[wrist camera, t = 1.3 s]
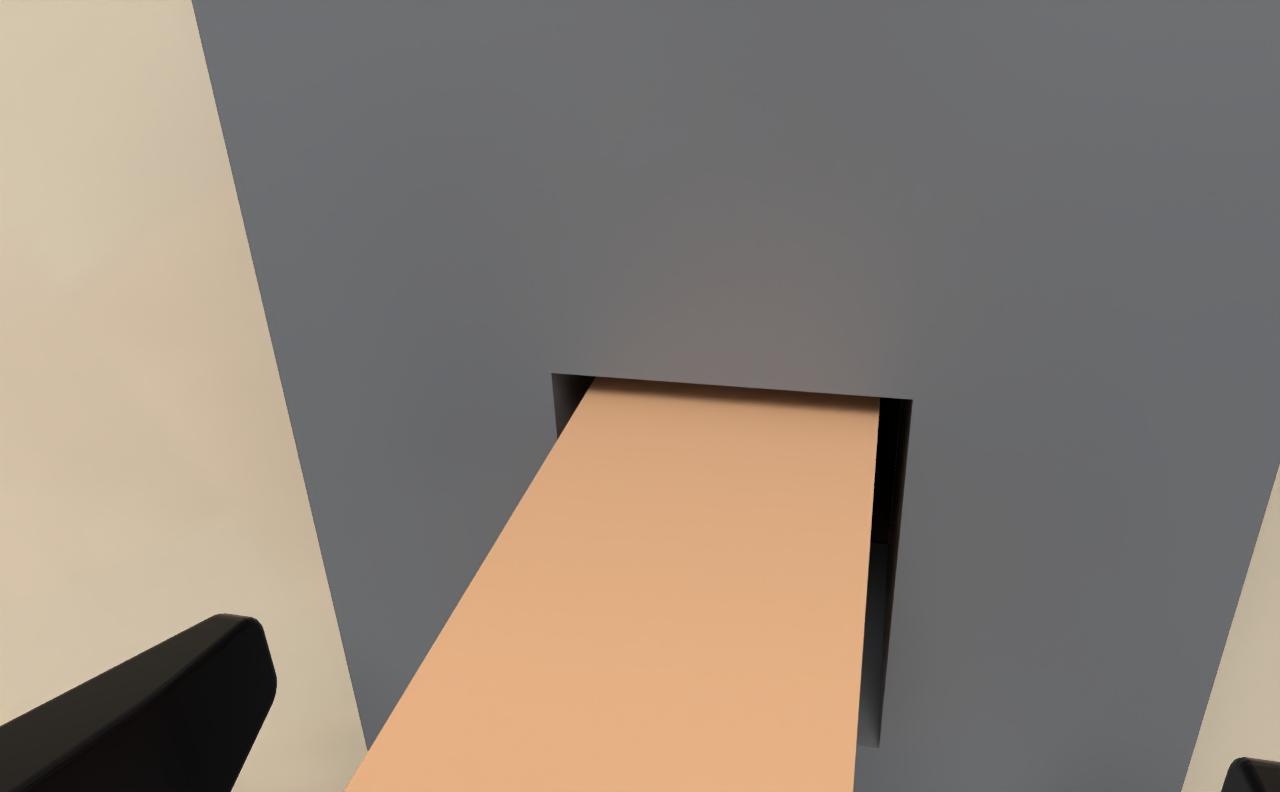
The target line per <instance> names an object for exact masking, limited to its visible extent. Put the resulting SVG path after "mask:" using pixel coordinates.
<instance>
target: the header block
mask: <svg viewBox="0 0 1280 792" xmlns="http://www.w3.org/2000/svg"><path fill="white" fill-rule="evenodd" d="M192 4H193V8H194V13H195V17H196V21H197V25H198V30H199V34H200V38H201V42H202V47H203V51H204V55H205V59H206V64H207V68H208V72H209V76H210V81H211V85H212V89H213V94H214V98H215V102H216V106H217V111H218V115H219V119H220V123H221V128H222V132H223V136H224V140H225V145H226V149H227V153H228V157H229V162H230V166H231V170H232V175H233V179H234V183H235V187H236V192H237V196H238V200H239V204H240V209H241V213H242V217H243V221H244V226H245V230H246V234H247V238H248V243H249V247H250V251H251V256H252V260H253V264H254V268H255V273H256V277H257V281H258V285H259V290H260V294H261V298H262V302H263V307H264V311H265V315H266V319H267V324H268V328H269V332H270V337H271V341H272V345H273V349H274V354H275V358H276V362H277V366H278V371H279V375H280V379H281V383H282V388H283V392H284V396H285V401H286V405H287V409H288V413H289V418H290V422H291V426H292V430H293V435H294V439H295V443H296V447H297V452H298V456H299V460H300V464H301V469H302V473H303V477H304V482H305V486H306V490H307V494H308V499H309V503H310V507H311V511H312V516H313V520H314V524H315V528H316V533H317V537H318V541H319V545H320V550H321V554H322V558H323V563H324V567H325V571H326V575H327V580H328V584H329V588H330V592H331V597H332V601H333V605H334V609H335V614H336V618H337V622H338V626H339V631H340V635H341V639H342V644H343V648H344V652H345V656H346V661H347V665H348V669H349V673H350V678H351V682H352V686H353V690H354V695H355V699H356V703H357V707H358V712H359V716H360V720H361V725H362V729H363V733H364V737H365V742H366V746H367V750H368V751H369V750H370V748H371V746H372V745H373V743H374V741H375V740H376V738H377V736H378V735H379V733H380V731H381V730H382V728H383V727H384V725H385V723H386V722H387V720H388V718H389V717H390V715H391V713H392V712H393V710H394V708H395V707H396V705H397V703H398V702H399V700H400V699H401V697H402V695H403V694H404V692H405V690H406V689H407V687H408V685H409V684H410V682H411V680H412V679H413V677H414V675H415V674H416V672H417V671H418V669H419V667H420V666H421V664H422V662H423V661H424V659H425V657H426V656H427V654H428V652H429V651H430V649H431V647H432V646H433V644H434V643H435V641H436V639H437V638H438V636H439V634H440V633H441V631H442V629H443V628H444V626H445V624H446V623H447V621H448V619H449V618H450V616H451V615H452V613H453V611H454V610H455V608H456V606H457V605H458V603H459V601H460V600H461V598H462V596H463V595H464V593H465V591H466V590H467V588H468V587H469V585H470V583H471V582H472V580H473V578H474V577H475V575H476V573H477V572H478V570H479V568H480V567H481V565H482V563H483V562H484V560H485V559H486V557H487V555H488V554H489V552H490V550H491V549H492V547H493V545H494V544H495V542H496V540H497V539H498V537H499V535H500V534H501V532H502V531H503V529H504V527H505V526H506V524H507V522H508V521H509V519H510V517H511V516H512V514H513V512H514V511H515V509H516V507H517V506H518V504H519V502H520V501H521V499H522V498H523V496H524V494H525V493H526V491H527V489H528V488H529V486H530V484H531V483H532V481H533V479H534V478H535V476H536V474H537V473H538V471H539V470H540V468H541V466H542V465H543V463H544V461H545V460H546V458H547V456H548V455H549V453H550V451H551V450H552V448H553V446H554V445H555V443H556V442H557V440H558V438H559V437H560V435H561V433H562V432H563V430H564V428H565V427H566V425H567V423H568V422H569V420H570V418H571V417H572V415H573V414H574V412H575V410H576V409H577V407H578V405H579V404H580V402H581V400H582V399H583V397H584V395H585V394H586V392H587V390H588V389H589V387H590V386H591V384H592V382H593V381H594V379H595V377H596V376H599V377H612V378H626V379H640V380H653V381H667V382H680V383H694V384H708V385H721V386H735V387H749V388H762V389H776V390H790V391H803V392H817V393H831V394H844V395H858V396H872V397H885V398H899V399H901V406H900V417H899V428H898V439H897V450H896V461H895V472H894V483H893V494H892V505H891V516H890V527H889V538H888V545H885V544H875V543H870V552H869V566H868V581H867V595H866V610H865V624H864V639H863V654H862V668H861V683H860V697H859V712H858V726H857V741H856V755H855V770H854V784H853V792H1181V790H1182V787H1183V783H1184V780H1185V777H1186V773H1187V770H1188V767H1189V763H1190V760H1191V757H1192V753H1193V750H1194V747H1195V743H1196V740H1197V737H1198V733H1199V730H1200V727H1201V724H1202V720H1203V717H1204V714H1205V710H1206V707H1207V704H1208V700H1209V697H1210V694H1211V690H1212V687H1213V684H1214V680H1215V677H1216V674H1217V670H1218V667H1219V664H1220V660H1221V657H1222V654H1223V650H1224V647H1225V644H1226V640H1227V637H1228V634H1229V630H1230V627H1231V624H1232V620H1233V617H1234V614H1235V610H1236V607H1237V604H1238V601H1239V597H1240V594H1241V591H1242V587H1243V584H1244V581H1245V577H1246V574H1247V571H1248V567H1249V564H1250V561H1251V557H1252V554H1253V551H1254V547H1255V544H1256V541H1257V537H1258V534H1259V531H1260V527H1261V524H1262V521H1263V517H1264V514H1265V511H1266V507H1267V504H1268V501H1269V497H1270V494H1271V491H1272V488H1273V484H1274V481H1275V478H1276V474H1277V471H1278V468H1279V464H1280V0H192Z"/></svg>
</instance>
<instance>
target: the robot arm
mask: <svg viewBox="0 0 1280 792" xmlns="http://www.w3.org/2000/svg"><path fill="white" fill-rule="evenodd" d="M276 688H277V677H276V672H275V669H274V665H273V662H272V658H271V655H270V651H269V647H268V644H267V640H266V637H265V633H264V630H263V627H262V625H261V624H260V623H259V622H258V620H257V619H254V618H252V617H247V616H240V615H233V614H217V615H214V616H212V617H210V618H208V619H206V620H204V621H202V622H200V623H198V624H196V625H194V626H192V627H191V628H189V629H187V630H185V631H183V632H181V633H179V634H177V635H175V636H173V637H171V638H169V639H167V640H166V641H164V642H162V643H160V644H158V645H156V646H154V647H152V648H150V649H148V650H146V651H144V652H142V653H140V654H139V655H137V656H135V657H133V658H131V659H129V660H127V661H125V662H123V663H121V664H119V665H117V666H115V667H114V668H112V669H110V670H108V671H106V672H104V673H102V674H100V675H98V676H96V677H94V678H92V679H90V680H88V681H87V682H85V683H83V684H81V685H79V686H77V687H75V688H73V689H71V690H69V691H67V692H65V693H63V694H61V695H60V696H58V697H56V698H54V699H52V700H50V701H48V702H46V703H44V704H42V705H40V706H38V707H36V708H34V709H33V710H31V711H29V712H27V713H25V714H23V715H21V716H19V717H17V718H15V719H13V720H11V721H9V722H7V723H6V724H4V725H2V726H0V792H231V790H232V788H233V786H234V784H235V782H236V780H237V777H238V775H239V773H240V771H241V769H242V767H243V765H244V763H245V761H246V758H247V756H248V754H249V752H250V750H251V748H252V746H253V744H254V742H255V739H256V737H257V735H258V733H259V731H260V729H261V727H262V725H263V723H264V720H265V718H266V716H267V714H268V712H269V710H270V708H271V706H272V703H273V701H274V698H275V694H276ZM1221 792H1280V762H1275V761H1268V760H1261V759H1254V758H1247V757H1242V758H1237V759H1235V760H1234V761H1233V762H1232V764H1231V765H1230V767H1229V769H1228V772H1227V775H1226V778H1225V781H1224V784H1223V788H1222V791H1221Z"/></svg>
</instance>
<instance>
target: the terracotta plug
mask: <svg viewBox="0 0 1280 792" xmlns="http://www.w3.org/2000/svg"><path fill="white" fill-rule="evenodd" d="M879 406H880V397H872V396H858V395H844V394H831V393H817V392H803V391H790V390H776V389H762V388H749V387H735V386H721V385H708V384H694V383H680V382H667V381H653V380H640V379H626V378H612V377H599V376H596V377H595V379H594V381H593V382H592V384H591V386H590V387H589V389H588V390H587V392H586V394H585V395H584V397H583V399H582V400H581V402H580V404H579V405H578V407H577V409H576V410H575V412H574V414H573V415H572V417H571V418H570V420H569V422H568V423H567V425H566V427H565V428H564V430H563V432H562V433H561V435H560V437H559V438H558V440H557V442H556V443H555V445H554V446H553V448H552V450H551V451H550V453H549V455H548V456H547V458H546V460H545V461H544V463H543V465H542V466H541V468H540V470H539V471H538V473H537V474H536V476H535V478H534V479H533V481H532V483H531V484H530V486H529V488H528V489H527V491H526V493H525V494H524V496H523V498H522V499H521V501H520V502H519V504H518V506H517V507H516V509H515V511H514V512H513V514H512V516H511V517H510V519H509V521H508V522H507V524H506V526H505V527H504V529H503V531H502V532H501V534H500V535H499V537H498V539H497V540H496V542H495V544H494V545H493V547H492V549H491V550H490V552H489V554H488V555H487V557H486V559H485V560H484V562H483V563H482V565H481V567H480V568H479V570H478V572H477V573H476V575H475V577H474V578H473V580H472V582H471V583H470V585H469V587H468V588H467V590H466V591H465V593H464V595H463V596H462V598H461V600H460V601H459V603H458V605H457V606H456V608H455V610H454V611H453V613H452V615H451V616H450V618H449V619H448V621H447V623H446V624H445V626H444V628H443V629H442V631H441V633H440V634H439V636H438V638H437V639H436V641H435V643H434V644H433V646H432V647H431V649H430V651H429V652H428V654H427V656H426V657H425V659H424V661H423V662H422V664H421V666H420V667H419V669H418V671H417V672H416V674H415V675H414V677H413V679H412V680H411V682H410V684H409V685H408V687H407V689H406V690H405V692H404V694H403V695H402V697H401V699H400V700H399V702H398V703H397V705H396V707H395V708H394V710H393V712H392V713H391V715H390V717H389V718H388V720H387V722H386V723H385V725H384V727H383V728H382V730H381V731H380V733H379V735H378V736H377V738H376V740H375V741H374V743H373V745H372V746H371V748H370V750H369V751H368V753H367V755H366V756H365V758H364V760H363V761H362V763H361V764H360V766H359V768H358V769H357V771H356V773H355V774H354V776H353V778H352V779H351V781H350V783H349V784H348V786H347V788H346V789H345V791H344V792H853V784H854V770H855V755H856V741H857V726H858V712H859V697H860V683H861V668H862V654H863V639H864V624H865V610H866V595H867V581H868V566H869V552H870V537H871V523H872V508H873V494H874V479H875V465H876V450H877V435H878V421H879Z"/></svg>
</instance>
